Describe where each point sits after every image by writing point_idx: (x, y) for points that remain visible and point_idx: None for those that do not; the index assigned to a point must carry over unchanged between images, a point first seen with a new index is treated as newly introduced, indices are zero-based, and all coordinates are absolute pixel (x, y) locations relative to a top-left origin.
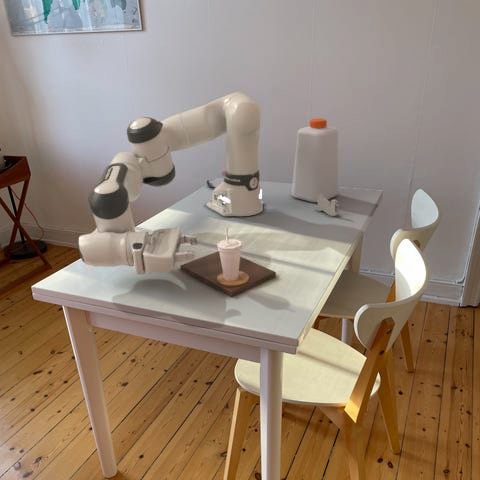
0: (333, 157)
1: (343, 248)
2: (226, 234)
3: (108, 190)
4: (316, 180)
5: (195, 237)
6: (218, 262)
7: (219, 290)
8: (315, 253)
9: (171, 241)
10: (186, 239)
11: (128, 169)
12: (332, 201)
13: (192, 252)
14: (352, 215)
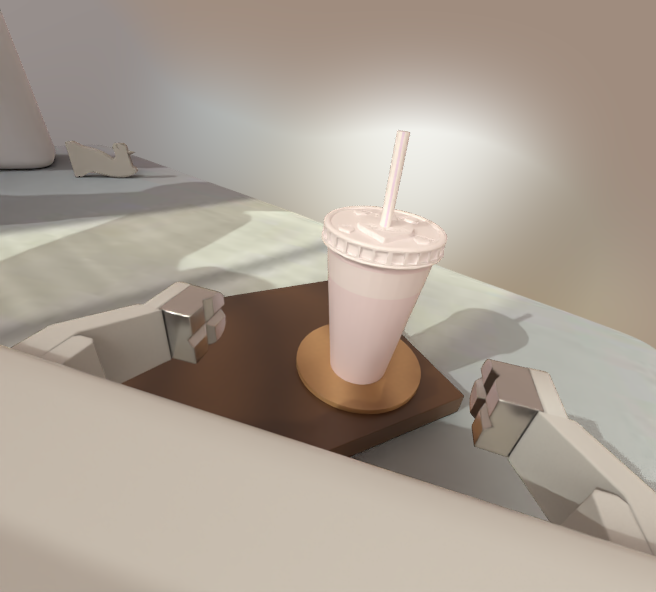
0: (20, 65)
1: (265, 205)
2: (400, 174)
3: None
4: (19, 115)
5: (197, 287)
6: (181, 365)
7: (401, 434)
8: (260, 225)
9: (242, 510)
10: (115, 352)
11: None
12: (117, 146)
13: (526, 367)
14: (151, 170)
